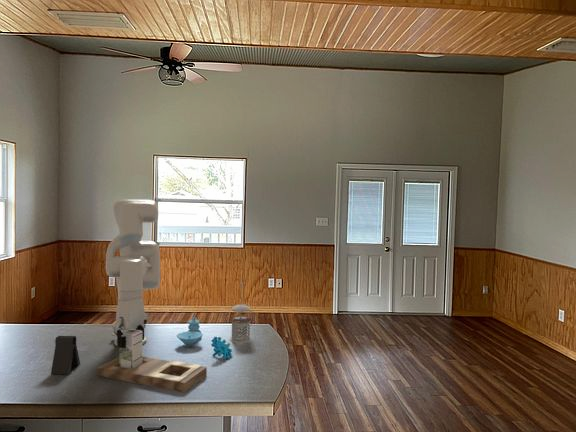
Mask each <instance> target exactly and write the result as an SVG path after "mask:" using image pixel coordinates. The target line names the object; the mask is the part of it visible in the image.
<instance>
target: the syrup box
mask: <svg viewBox="0 0 576 432" xmlns="http://www.w3.org/2000/svg"><path fill="white" fill-rule="evenodd" d="M122 332H123V331H122ZM125 336H126V348H118V349H119V351H118V353H119V356H118V357H119V366H120V367H123V368H129V369H134V368H136V367H138V366H140V365H142V357H143V344H142V331H141V330H134V329H129V330H127V332H126V334H125Z"/></svg>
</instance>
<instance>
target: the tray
mask: <svg viewBox="0 0 576 432" xmlns="http://www.w3.org/2000/svg"><path fill="white" fill-rule="evenodd" d="M207 368H208V367H207V366H204V365H203V366H202V364H195V363H191V362H190V363H189V362H184V361H183V362H182V361H177V360H165V359H160V358H153V357H147V356H142V365H140V366H138V367H136V368H134V369H129V368H123V367H120V366H119V356H118V357H116V358H114V359H112V360H111V361H108V362H106V363H104V364H102V365H100V366H98V367H97V376H98V377H101V378H107V379H113V380H118V381H122V382H128V383H132V384H133V383H134V384H140V385H145V386H151V387H153V388H154V387H155V388H161V389H166V390H171V391H175V392H176V391H177V392H181V393H186V392H187V391H188V390H190V389H191V388H193V387H194V386H195V385H196V384H198V383H199V382H200V381H202V380H203V379H204V378H206V377H207V373H208V372H207Z"/></svg>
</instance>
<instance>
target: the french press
mask: <svg viewBox="0 0 576 432" xmlns="http://www.w3.org/2000/svg"><path fill="white" fill-rule="evenodd" d="M239 286H240V298H242V295H243V294H242V293H243V292H242V291H243V290H242V286H245V285H244V282H240V283H239ZM231 310H232V311H234V312H235V313H236V312H239V313H242V312H243V313H244V312H247V314H250V317H251V318H250V317H249V316H248V315H244V314H243V315H242V314H240V315H234V316H233V317H232V320H231V337H230V338H229V340H228V341H229V343H234V344H246V343H249V342H250V343H251V342H252V341H253V339H252V338H251V335H250V333H251V332H250V329H251V327H252V326H253V324H254V321H255V319H253V316H255V314H254V312H253V311H252V310H251V307H250V306H248V305H246V304H242V303H240V304H236V305H234V306H233V307H231ZM250 319H251V320H250ZM251 323H252V324H251Z"/></svg>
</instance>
